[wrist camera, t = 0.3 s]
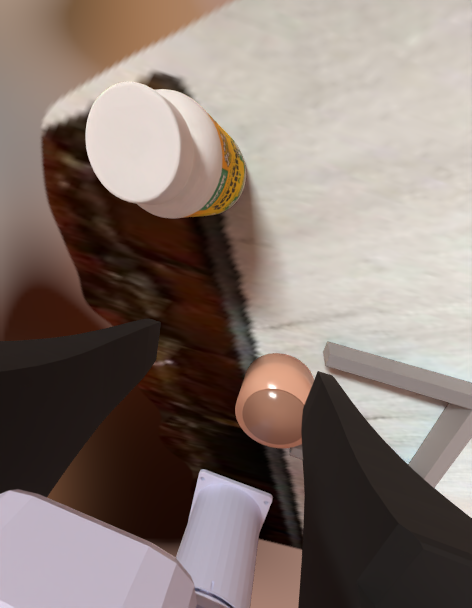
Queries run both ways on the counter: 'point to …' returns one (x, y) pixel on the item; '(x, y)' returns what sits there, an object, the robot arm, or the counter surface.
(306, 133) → the counter surface
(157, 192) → the supplement bottle
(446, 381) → the holder
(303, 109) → the counter surface
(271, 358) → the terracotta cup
